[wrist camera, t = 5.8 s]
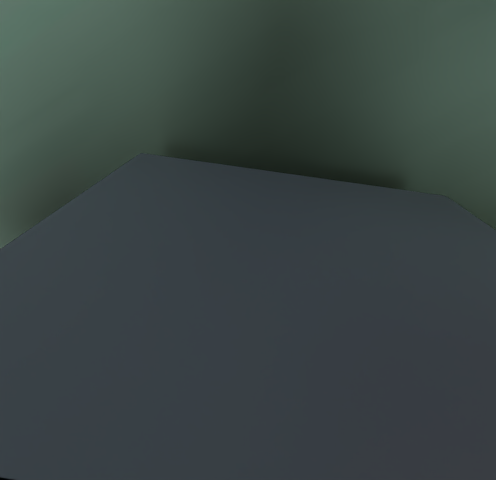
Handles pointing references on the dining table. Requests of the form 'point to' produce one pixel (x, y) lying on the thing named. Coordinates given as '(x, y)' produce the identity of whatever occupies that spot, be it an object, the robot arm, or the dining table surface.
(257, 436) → the slate grey cube
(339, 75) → the dining table surface
